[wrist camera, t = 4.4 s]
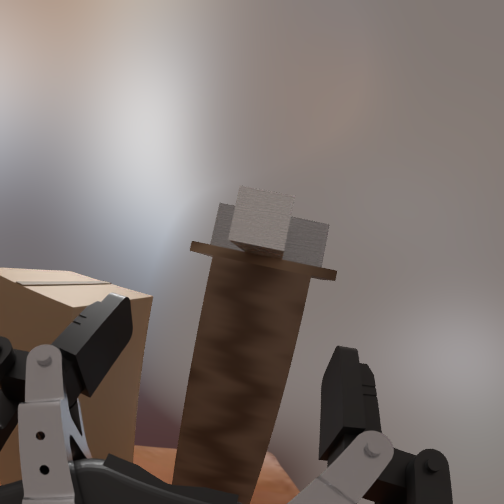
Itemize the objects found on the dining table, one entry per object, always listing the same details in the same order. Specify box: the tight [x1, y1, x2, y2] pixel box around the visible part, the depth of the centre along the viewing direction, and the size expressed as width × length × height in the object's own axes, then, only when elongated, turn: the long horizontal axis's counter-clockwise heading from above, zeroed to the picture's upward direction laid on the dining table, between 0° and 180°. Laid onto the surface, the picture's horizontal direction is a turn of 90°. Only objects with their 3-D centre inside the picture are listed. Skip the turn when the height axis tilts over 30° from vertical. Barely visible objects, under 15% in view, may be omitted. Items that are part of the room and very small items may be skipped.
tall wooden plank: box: [172, 241, 337, 504], centre depth 28 cm, size 12×8×32 cm
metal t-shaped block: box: [210, 186, 329, 267], centre depth 25 cm, size 10×17×4 cm, turn 175°
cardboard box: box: [0, 268, 153, 485], centre depth 21 cm, size 10×12×27 cm
